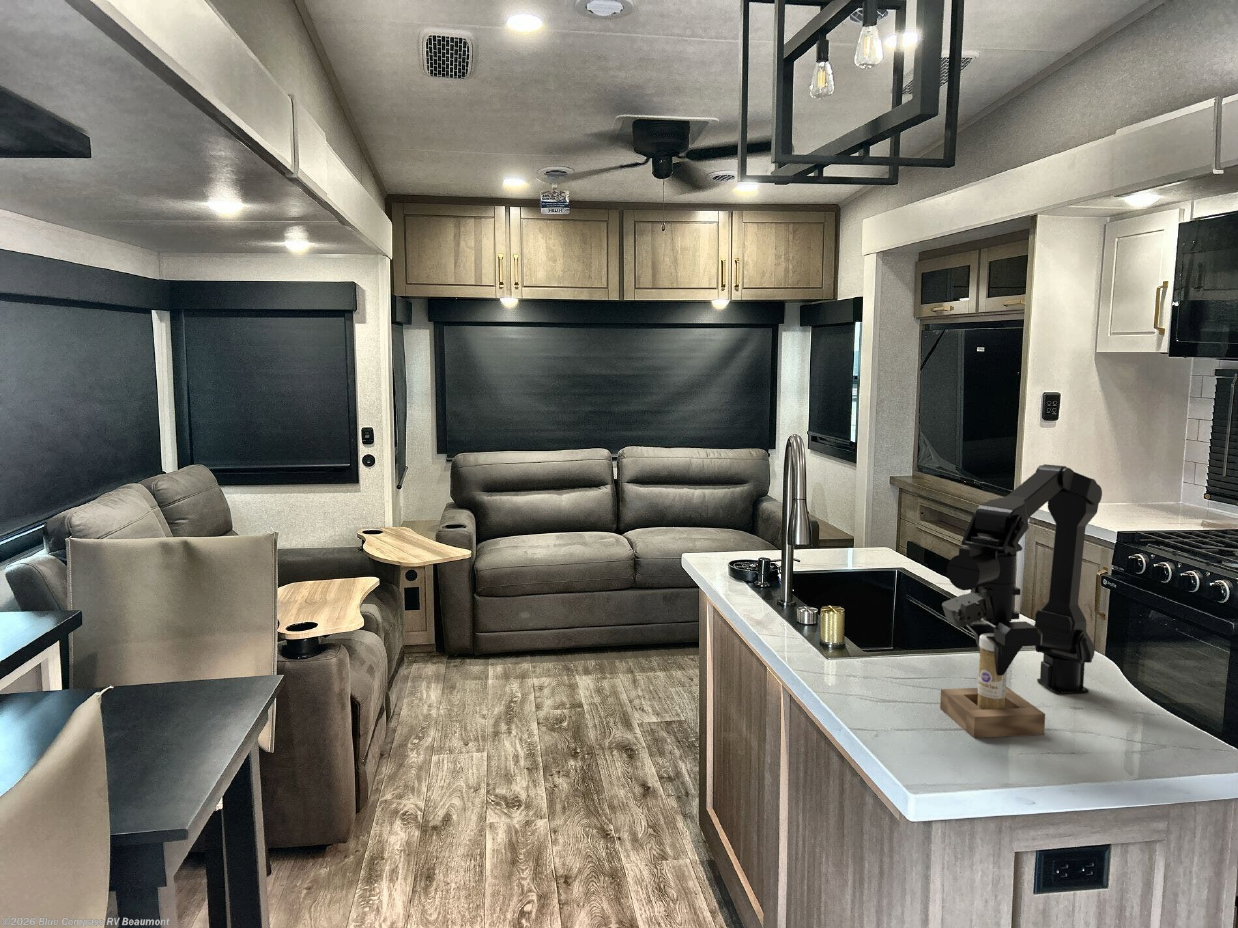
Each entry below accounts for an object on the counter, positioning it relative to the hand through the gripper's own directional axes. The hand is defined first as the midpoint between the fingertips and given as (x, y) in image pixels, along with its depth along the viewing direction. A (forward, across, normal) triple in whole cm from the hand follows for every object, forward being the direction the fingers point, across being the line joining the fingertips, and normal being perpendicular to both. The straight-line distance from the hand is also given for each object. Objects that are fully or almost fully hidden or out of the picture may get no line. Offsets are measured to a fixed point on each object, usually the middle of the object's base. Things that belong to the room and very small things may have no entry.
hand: (992, 669), depth 146 cm
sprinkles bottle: (+8, 0, 0) cm, 8 cm away
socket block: (+9, 0, 0) cm, 9 cm away
